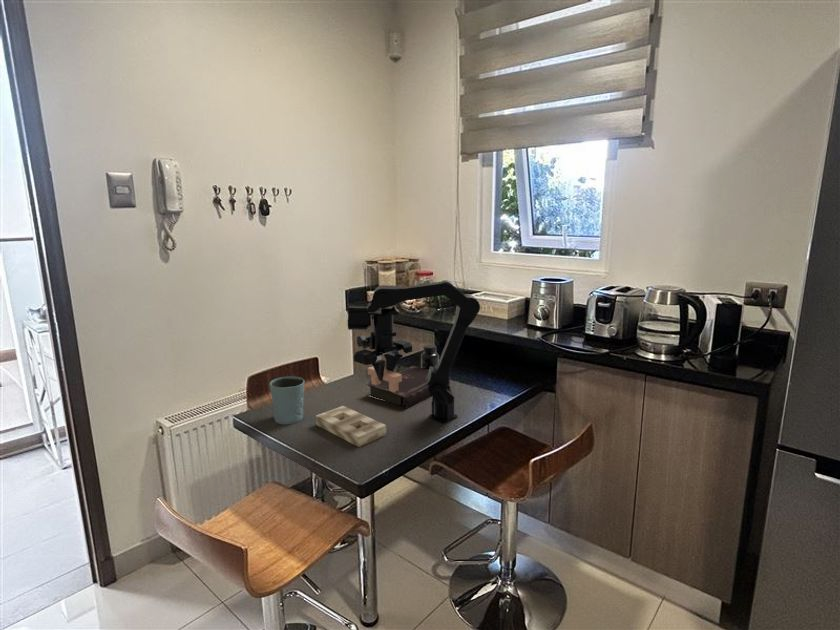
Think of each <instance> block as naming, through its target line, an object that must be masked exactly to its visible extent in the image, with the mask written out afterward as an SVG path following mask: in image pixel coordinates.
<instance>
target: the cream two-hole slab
mask: <svg viewBox="0 0 840 630" xmlns="http://www.w3.org/2000/svg"><path fill="white" fill-rule="evenodd" d="M315 418H316V419H315V421H316V425H317V427H320V428H322V429H324V430H326V431H327V432H329V433H331V434H333V435H335V436H337V437H339V438H341V439H342V440H345V441H346V442H348V443H350V444H352V445H354V446H356V447H357V448H361V447H362V446H364V445H367V444H369V443H371V442H374V441H376V440H378V439H381V438H382V437H384V436H387V425H386V424H384V423H382V422H380V421H378V420H375V419H374V418H371V417H370V416H367V415H364V414H361V413H360V412H358V411H356V410H354V409H351V408H349V407H347V406H345V405H341V406H339V407H335V408H333V409H331V410H327V411H325V412H322V413H319V414H317V415H315Z"/></svg>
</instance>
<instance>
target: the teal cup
mask: <svg viewBox="0 0 840 630" xmlns="http://www.w3.org/2000/svg"><path fill="white" fill-rule="evenodd" d="M269 388H270V394H271V401H272V402H271V403H272V407H273V410H272V411H273V416H274V417H273V418H274V422H275V423H276V424H278V425H292V424H293V425H294V424H296V423H298V422H300V421H302V420H303V418H304V395H305V379H303V378H302V377H299V376H281V377H277V378H274V379H272V380H271V381H270V382H269Z"/></svg>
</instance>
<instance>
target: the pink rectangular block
mask: <svg viewBox="0 0 840 630" xmlns="http://www.w3.org/2000/svg"><path fill="white" fill-rule="evenodd" d="M367 375H369V376H371V377H370V378H371V382H370V383H371V384H373V385H378V384H381V381H380V380H379V379H378V377H377V374H376V372H375V369H374V367H373V366H370V367H367ZM383 380H385V381H388V382H389V391H392V392H395V391H398V390H399V387H398V382H401V381H402V375H401V374H398V372H395V371H393V372H392V371H389V370H386V369H385V368H384V374H383Z"/></svg>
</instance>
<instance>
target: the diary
mask: <svg viewBox="0 0 840 630" xmlns="http://www.w3.org/2000/svg"><path fill="white" fill-rule="evenodd" d="M397 373H398V374H401V375H402V381H401V382H398V387H399V390H398V391H395V392H392V391H389V382H388V381H385V380H383V379H382V381H381V384H378V385H373V384H371V382H369V383H367V384H366V386H368V387H370V395H371V396H373V397H376V398H379V399H383V400H385V402H387V401H389V402H388V403H391V402H392V403H391V404H394V403H395V404H394V405H397V404H398V405H397V406H401V407H404V406H405V408H406V409H408V408H410V407H412V406H414V405H416V404H418V403H419V401H420V402H421V400H422V401H424V400H425V398H426V399H428V398H429V396H430V397H432V396H431V395H430V394H429V392H428V387H427V382H426V376H427V375H428V373H429V370H428V369H424V368H421V367H420V366H410V367H408V368H405V369H403V370H400V371H399V372H397ZM450 384H451V377H450V376H449V383H448V385H449V386H450V387H451V385H450ZM427 397H428V398H427ZM423 399H424V400H423ZM417 402H418V403H417ZM415 403H416V404H415Z"/></svg>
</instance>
